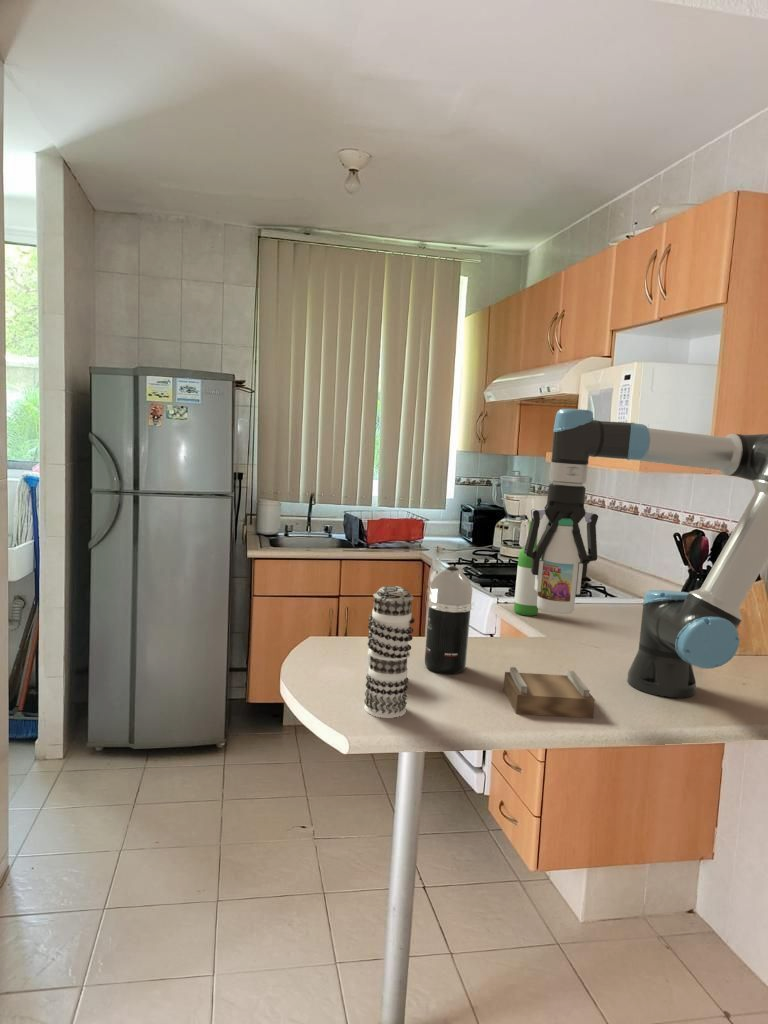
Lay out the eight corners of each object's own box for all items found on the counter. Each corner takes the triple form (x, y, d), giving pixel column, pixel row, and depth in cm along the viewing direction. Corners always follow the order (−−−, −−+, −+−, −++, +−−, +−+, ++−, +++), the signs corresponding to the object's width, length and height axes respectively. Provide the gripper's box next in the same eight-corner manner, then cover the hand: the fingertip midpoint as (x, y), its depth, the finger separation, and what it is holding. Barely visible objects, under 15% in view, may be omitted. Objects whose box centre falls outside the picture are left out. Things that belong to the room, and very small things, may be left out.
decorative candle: (379, 697, 154) (387, 581, 151) (416, 709, 148) (425, 589, 146) (353, 709, 146) (361, 587, 143) (391, 722, 141) (400, 596, 138)
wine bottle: (509, 610, 238) (517, 519, 234) (531, 610, 240) (540, 520, 236) (519, 616, 230) (527, 522, 227) (541, 616, 232) (550, 523, 229)
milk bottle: (546, 604, 160) (555, 513, 158) (579, 611, 155) (589, 518, 153) (529, 609, 154) (538, 515, 152) (563, 617, 149) (573, 520, 147)
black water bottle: (428, 675, 170) (436, 569, 167) (419, 660, 180) (427, 561, 177) (471, 675, 171) (480, 571, 168) (459, 661, 181) (468, 562, 178)
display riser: (573, 693, 164) (576, 669, 164) (592, 717, 150) (595, 692, 150) (503, 689, 164) (505, 665, 163) (515, 713, 150) (518, 687, 149)
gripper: (522, 482, 148) (512, 592, 150) (622, 488, 148) (610, 598, 151) (514, 479, 155) (505, 584, 158) (610, 485, 156) (599, 590, 158)
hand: (556, 591), depth 154 cm, fingers closed on milk bottle, 8 cm apart
